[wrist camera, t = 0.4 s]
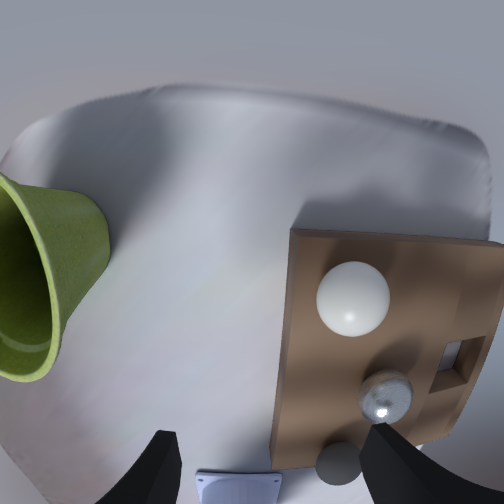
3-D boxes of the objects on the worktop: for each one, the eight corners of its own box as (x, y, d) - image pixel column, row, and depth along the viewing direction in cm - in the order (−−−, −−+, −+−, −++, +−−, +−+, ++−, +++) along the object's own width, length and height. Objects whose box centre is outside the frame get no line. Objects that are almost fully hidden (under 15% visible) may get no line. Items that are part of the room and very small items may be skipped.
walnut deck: (437, 420, 22) (448, 435, 19) (269, 447, 21) (271, 469, 18) (495, 241, 17) (516, 248, 15) (290, 228, 17) (298, 236, 14)
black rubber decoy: (350, 456, 18) (362, 488, 15) (308, 462, 18) (316, 496, 15) (361, 429, 18) (376, 463, 14) (315, 435, 17) (326, 472, 14)
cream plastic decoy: (366, 316, 15) (393, 347, 12) (305, 317, 15) (322, 352, 12) (376, 254, 15) (409, 274, 11) (312, 252, 14) (333, 273, 11)
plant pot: (92, 335, 18) (29, 413, 9) (6, 248, 16) (-77, 283, 8) (167, 231, 16) (102, 280, 8) (62, 137, 15) (-37, 122, 6)
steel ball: (391, 397, 17) (411, 429, 14) (345, 404, 17) (361, 440, 13) (405, 355, 16) (431, 386, 13) (356, 361, 16) (378, 397, 13)
